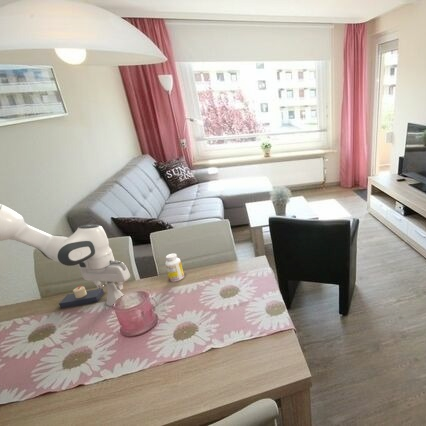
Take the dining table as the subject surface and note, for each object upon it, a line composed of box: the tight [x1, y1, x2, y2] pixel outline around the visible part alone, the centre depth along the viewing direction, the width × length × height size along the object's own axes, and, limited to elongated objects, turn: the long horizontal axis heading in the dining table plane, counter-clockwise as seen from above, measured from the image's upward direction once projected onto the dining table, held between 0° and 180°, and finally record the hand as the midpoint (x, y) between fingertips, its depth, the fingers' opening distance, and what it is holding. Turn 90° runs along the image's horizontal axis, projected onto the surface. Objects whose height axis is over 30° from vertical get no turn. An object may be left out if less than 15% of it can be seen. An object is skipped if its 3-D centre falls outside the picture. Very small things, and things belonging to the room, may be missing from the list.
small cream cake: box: [72, 285, 87, 298], centre depth 129 cm, size 4×4×4 cm
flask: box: [104, 281, 125, 307], centre depth 127 cm, size 7×7×10 cm
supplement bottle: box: [164, 253, 185, 282], centre depth 142 cm, size 7×7×13 cm
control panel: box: [58, 288, 105, 309], centre depth 130 cm, size 14×7×3 cm, turn 105°
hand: (110, 288), depth 127 cm, fingers open, 8 cm apart
